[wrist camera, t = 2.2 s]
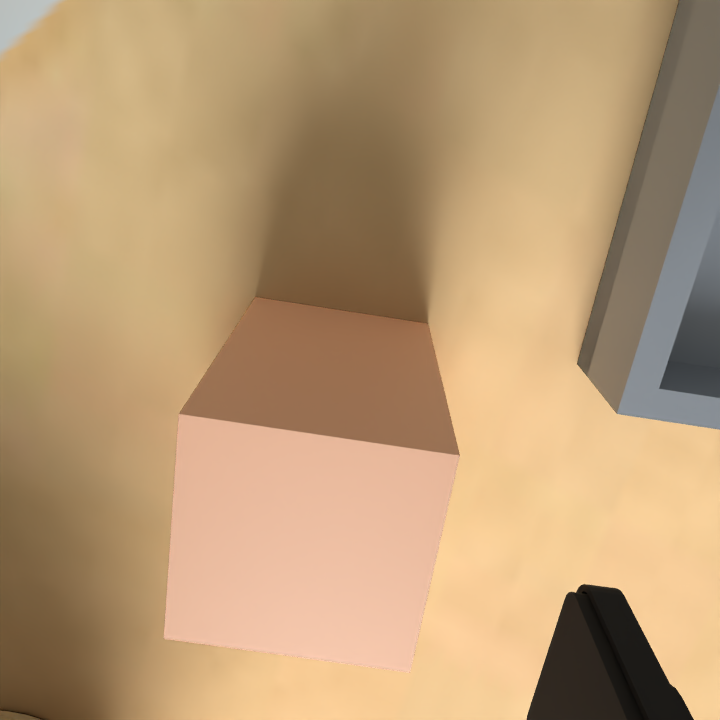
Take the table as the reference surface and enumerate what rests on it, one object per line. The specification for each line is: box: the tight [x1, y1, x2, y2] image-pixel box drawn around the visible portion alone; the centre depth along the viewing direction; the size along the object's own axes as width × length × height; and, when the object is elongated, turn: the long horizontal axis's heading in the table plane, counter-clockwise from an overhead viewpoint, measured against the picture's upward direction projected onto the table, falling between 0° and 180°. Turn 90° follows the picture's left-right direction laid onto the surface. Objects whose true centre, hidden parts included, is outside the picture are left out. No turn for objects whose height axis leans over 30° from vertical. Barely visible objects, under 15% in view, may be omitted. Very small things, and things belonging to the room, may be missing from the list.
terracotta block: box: [164, 297, 460, 673], centre depth 17 cm, size 5×5×8 cm
